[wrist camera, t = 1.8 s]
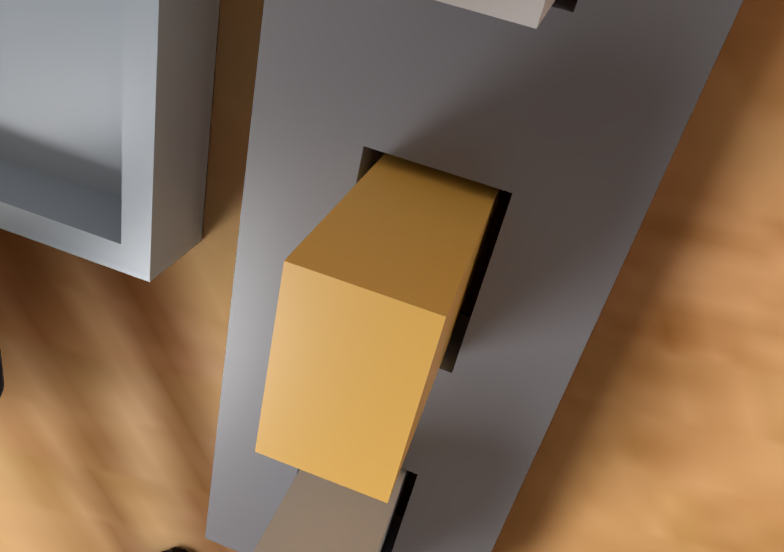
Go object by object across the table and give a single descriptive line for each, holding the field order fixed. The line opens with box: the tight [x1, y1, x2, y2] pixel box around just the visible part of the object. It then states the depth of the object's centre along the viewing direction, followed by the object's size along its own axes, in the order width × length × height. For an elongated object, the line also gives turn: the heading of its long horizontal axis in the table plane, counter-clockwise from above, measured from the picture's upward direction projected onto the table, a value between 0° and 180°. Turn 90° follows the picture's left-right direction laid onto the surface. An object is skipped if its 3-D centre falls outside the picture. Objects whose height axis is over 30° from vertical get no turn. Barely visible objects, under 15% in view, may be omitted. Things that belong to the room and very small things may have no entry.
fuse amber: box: [255, 153, 501, 503], centre depth 14 cm, size 4×2×7 cm, turn 167°
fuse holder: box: [205, 0, 743, 552], centre depth 16 cm, size 23×8×2 cm, turn 167°
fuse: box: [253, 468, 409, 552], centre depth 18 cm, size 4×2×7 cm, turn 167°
